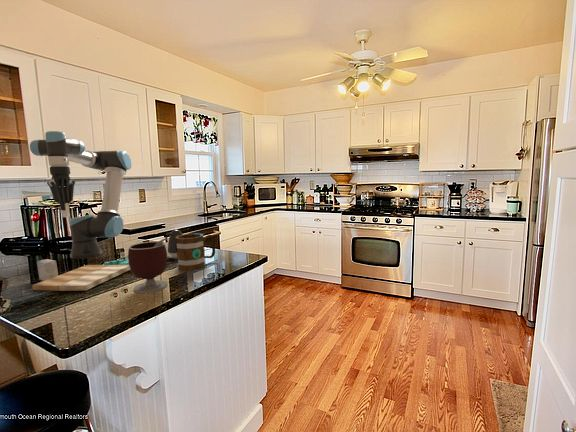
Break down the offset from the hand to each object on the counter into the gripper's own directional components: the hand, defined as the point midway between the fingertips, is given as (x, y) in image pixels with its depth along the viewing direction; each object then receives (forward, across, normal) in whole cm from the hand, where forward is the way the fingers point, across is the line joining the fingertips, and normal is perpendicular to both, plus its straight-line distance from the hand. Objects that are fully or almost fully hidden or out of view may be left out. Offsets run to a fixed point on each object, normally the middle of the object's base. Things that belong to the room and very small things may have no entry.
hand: (66, 216), depth 146 cm
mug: (+27, +12, -58) cm, 65 cm away
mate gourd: (+27, -18, -53) cm, 62 cm away
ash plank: (+26, -10, -22) cm, 36 cm away
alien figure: (+27, +18, -20) cm, 38 cm away
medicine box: (+27, -12, +1) cm, 29 cm away
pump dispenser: (+27, +26, -40) cm, 55 cm away
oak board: (+26, -10, -10) cm, 30 cm away
